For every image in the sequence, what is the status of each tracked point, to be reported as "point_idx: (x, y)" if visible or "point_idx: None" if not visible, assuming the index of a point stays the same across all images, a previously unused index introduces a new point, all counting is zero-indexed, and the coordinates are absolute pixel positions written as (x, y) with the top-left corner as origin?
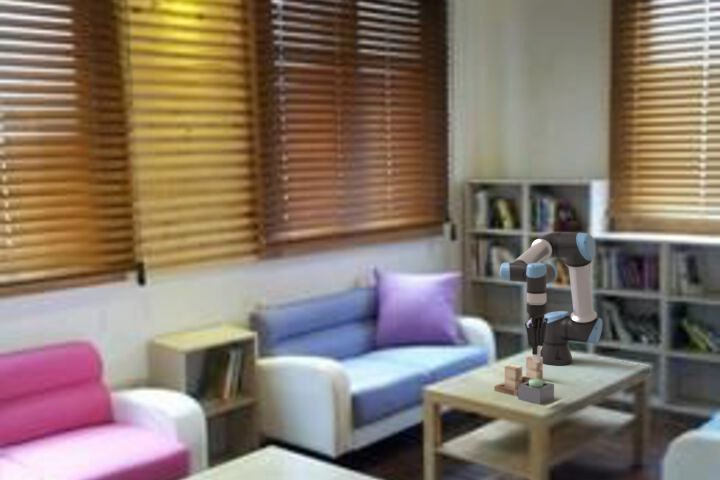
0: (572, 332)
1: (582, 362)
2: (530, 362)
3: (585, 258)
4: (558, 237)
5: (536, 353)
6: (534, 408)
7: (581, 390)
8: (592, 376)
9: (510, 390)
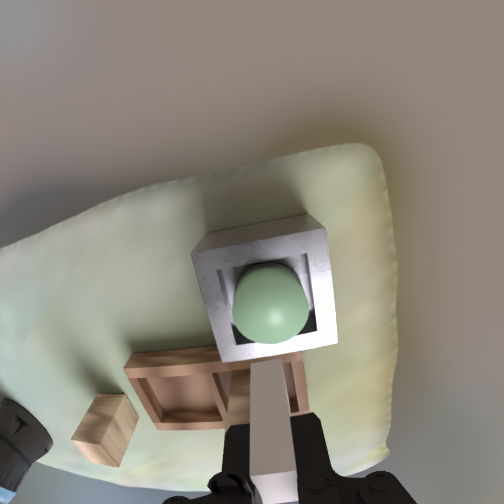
0: None
1: None
2: (114, 449)
3: None
4: None
5: (299, 422)
6: (327, 223)
7: (51, 266)
8: None
9: (303, 369)
